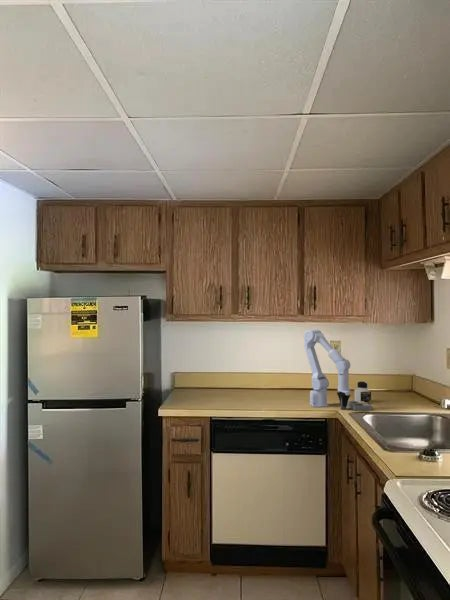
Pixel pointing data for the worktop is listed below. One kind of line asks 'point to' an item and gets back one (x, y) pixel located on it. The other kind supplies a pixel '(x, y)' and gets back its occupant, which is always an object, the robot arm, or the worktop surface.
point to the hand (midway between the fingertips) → (343, 405)
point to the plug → (342, 406)
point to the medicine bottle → (363, 392)
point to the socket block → (359, 405)
